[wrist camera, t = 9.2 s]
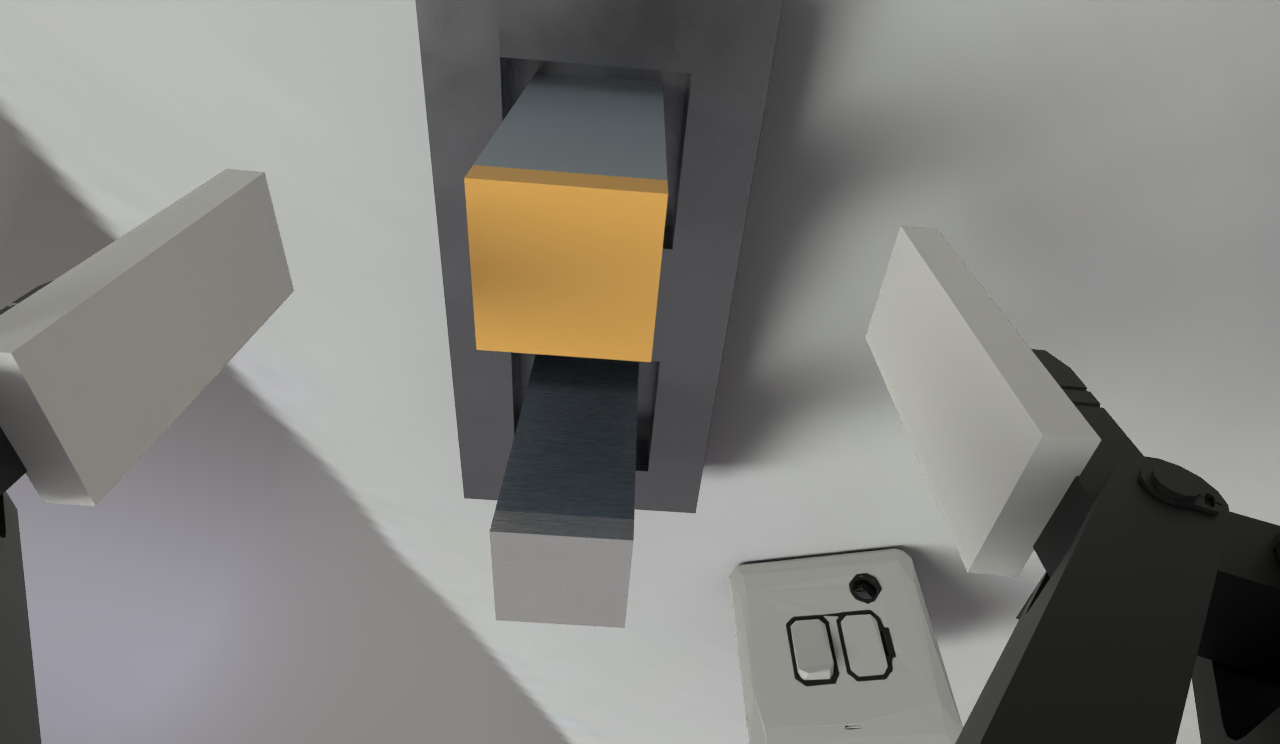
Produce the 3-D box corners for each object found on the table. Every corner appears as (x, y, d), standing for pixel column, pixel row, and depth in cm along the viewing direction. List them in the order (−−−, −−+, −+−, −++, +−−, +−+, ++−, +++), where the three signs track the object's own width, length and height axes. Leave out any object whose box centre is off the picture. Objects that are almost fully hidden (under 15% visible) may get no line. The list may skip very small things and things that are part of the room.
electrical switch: (908, 541, 35) (976, 731, 28) (902, 596, 38) (961, 779, 31) (725, 560, 36) (746, 747, 29) (734, 612, 39) (754, 792, 32)
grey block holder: (769, -20, 21) (856, 41, 12) (692, 466, 32) (707, 686, 23) (440, -49, 21) (273, -9, 12) (478, 451, 32) (410, 669, 23)
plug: (662, 82, 22) (668, 193, 14) (651, 203, 24) (651, 362, 16) (536, 72, 22) (464, 177, 13) (537, 194, 24) (476, 349, 16)
